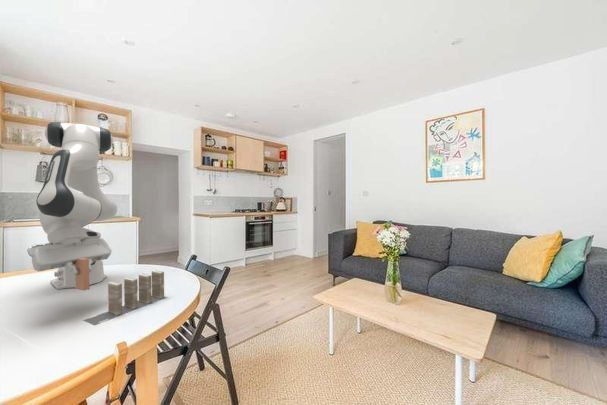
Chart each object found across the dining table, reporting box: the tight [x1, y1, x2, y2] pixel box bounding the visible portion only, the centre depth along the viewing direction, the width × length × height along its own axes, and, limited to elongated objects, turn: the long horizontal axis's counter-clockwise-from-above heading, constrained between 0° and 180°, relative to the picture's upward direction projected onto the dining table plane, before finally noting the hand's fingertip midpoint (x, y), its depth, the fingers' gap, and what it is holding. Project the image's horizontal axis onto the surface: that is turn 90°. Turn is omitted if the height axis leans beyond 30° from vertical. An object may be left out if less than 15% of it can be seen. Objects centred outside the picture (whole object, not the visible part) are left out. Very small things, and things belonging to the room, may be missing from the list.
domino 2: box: [123, 276, 139, 309], centre depth 90 cm, size 2×5×10 cm, turn 64°
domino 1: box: [107, 281, 123, 315], centre depth 85 cm, size 2×5×10 cm, turn 64°
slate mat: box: [82, 296, 169, 326], centre depth 89 cm, size 7×24×1 cm, turn 154°
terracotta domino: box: [75, 258, 90, 291], centre depth 84 cm, size 2×5×10 cm, turn 64°
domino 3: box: [138, 273, 152, 304], centre depth 94 cm, size 2×5×10 cm, turn 64°
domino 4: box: [151, 270, 165, 300], centre depth 99 cm, size 2×5×10 cm, turn 64°
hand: (83, 272), depth 84 cm, fingers closed on terracotta domino, 2 cm apart
